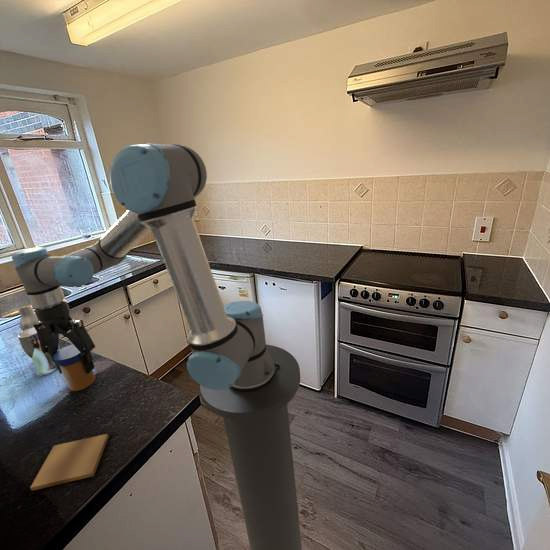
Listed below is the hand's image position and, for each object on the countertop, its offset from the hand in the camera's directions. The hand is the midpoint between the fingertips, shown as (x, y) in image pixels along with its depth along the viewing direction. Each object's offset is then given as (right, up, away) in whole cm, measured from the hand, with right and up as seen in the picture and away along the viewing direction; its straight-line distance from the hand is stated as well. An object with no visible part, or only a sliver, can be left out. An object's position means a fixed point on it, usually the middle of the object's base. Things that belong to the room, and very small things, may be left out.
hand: (77, 370), depth 90 cm
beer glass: (-16, -3, +10) cm, 19 cm away
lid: (-1, +6, -2) cm, 7 cm away
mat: (+15, -13, -24) cm, 31 cm away
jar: (0, -4, +2) cm, 5 cm away
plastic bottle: (-22, -1, +16) cm, 27 cm away
